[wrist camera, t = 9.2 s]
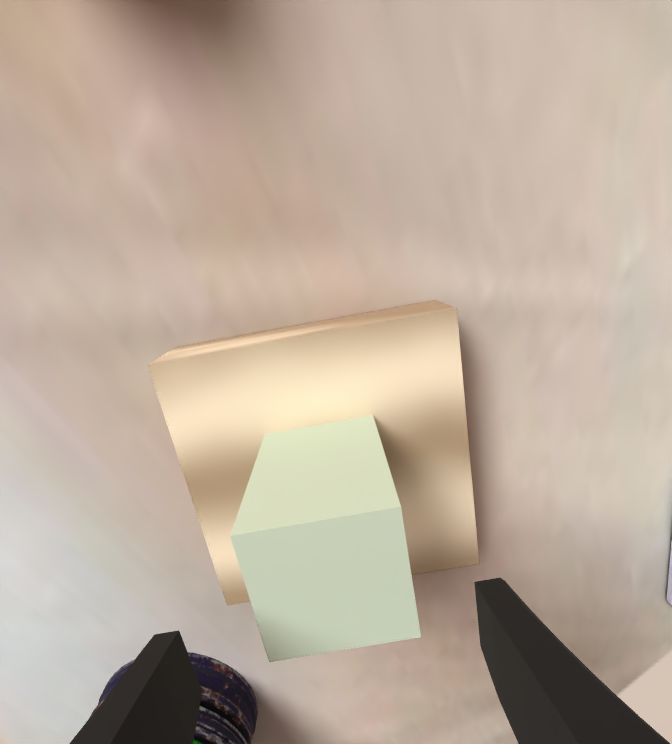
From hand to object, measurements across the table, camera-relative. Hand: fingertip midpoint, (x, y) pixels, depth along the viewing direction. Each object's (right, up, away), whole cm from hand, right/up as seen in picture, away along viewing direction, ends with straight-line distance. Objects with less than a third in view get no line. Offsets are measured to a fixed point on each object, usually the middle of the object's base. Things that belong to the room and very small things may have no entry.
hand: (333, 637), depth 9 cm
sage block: (0, +2, +7) cm, 7 cm away
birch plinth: (0, +3, +10) cm, 10 cm away
